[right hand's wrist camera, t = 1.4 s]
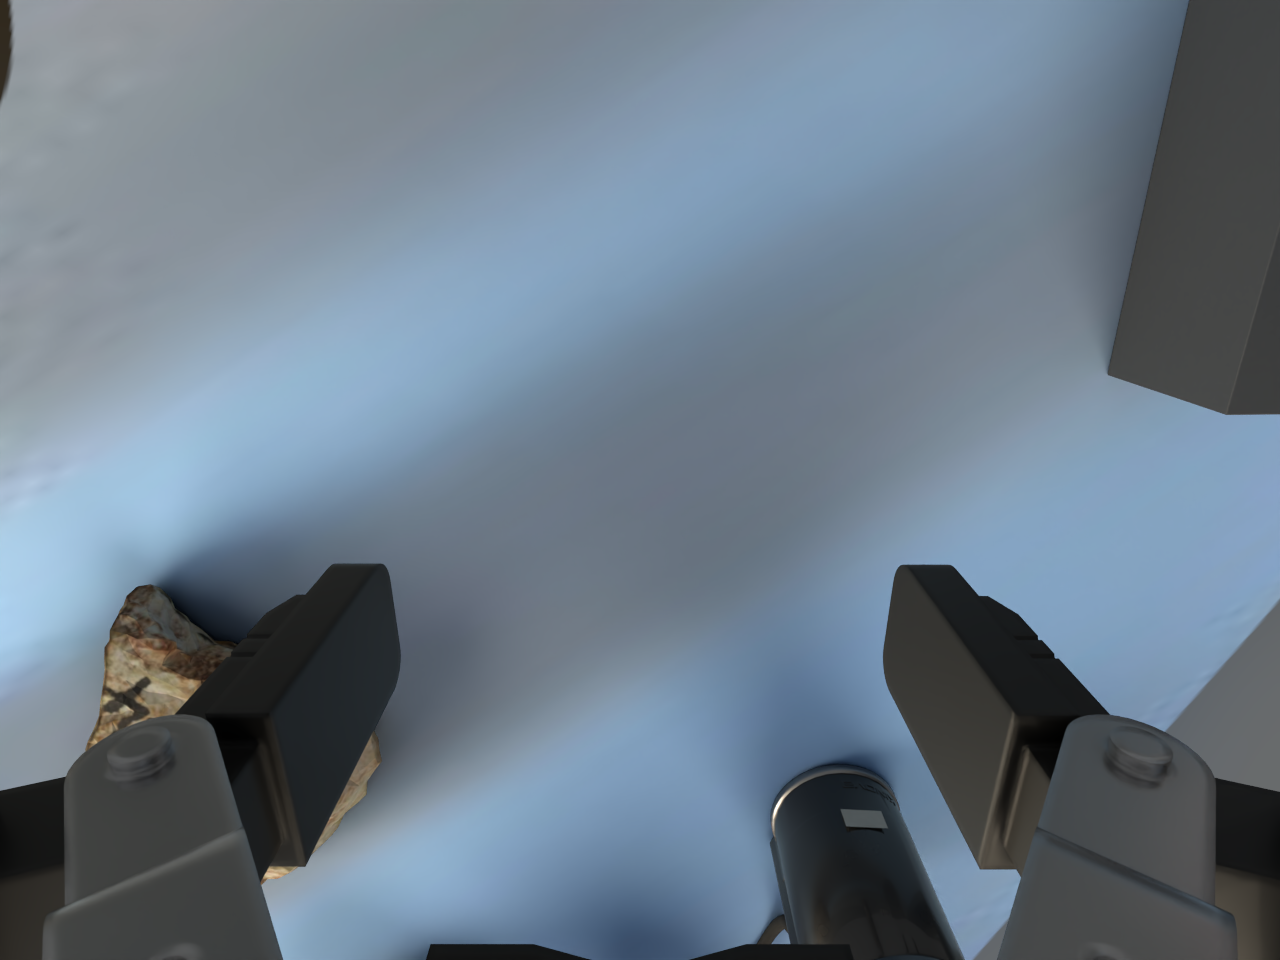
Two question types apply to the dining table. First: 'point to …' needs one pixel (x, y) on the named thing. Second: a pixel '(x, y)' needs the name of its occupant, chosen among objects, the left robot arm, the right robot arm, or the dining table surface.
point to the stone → (180, 682)
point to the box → (1212, 222)
